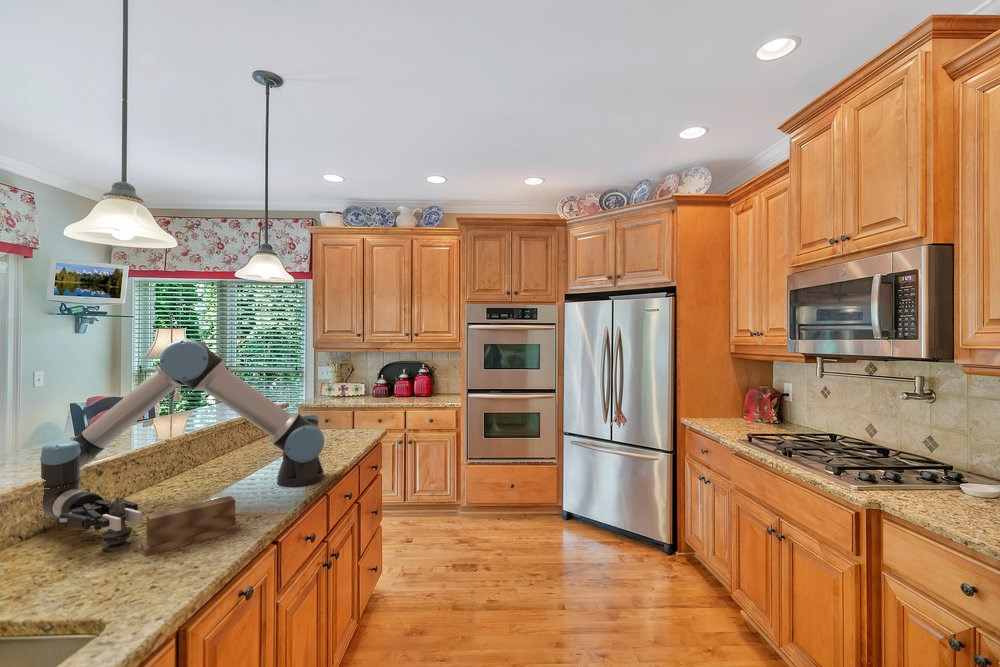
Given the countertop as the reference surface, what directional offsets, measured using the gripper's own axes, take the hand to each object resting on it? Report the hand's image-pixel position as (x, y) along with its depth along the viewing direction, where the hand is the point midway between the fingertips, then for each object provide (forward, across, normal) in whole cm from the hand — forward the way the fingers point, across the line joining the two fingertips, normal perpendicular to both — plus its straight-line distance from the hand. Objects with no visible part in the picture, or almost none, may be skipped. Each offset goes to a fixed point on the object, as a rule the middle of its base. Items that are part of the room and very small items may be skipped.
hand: (129, 521), depth 109 cm
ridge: (+7, -10, -7) cm, 14 cm away
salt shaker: (-5, 0, -7) cm, 9 cm away
